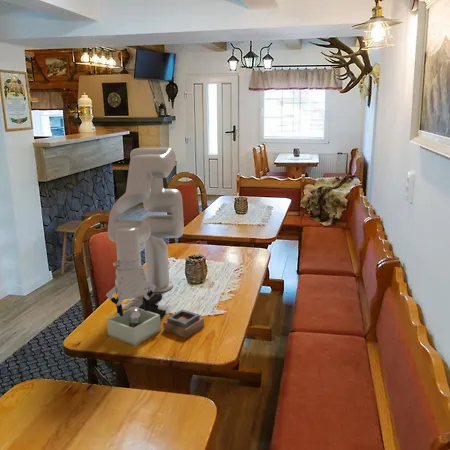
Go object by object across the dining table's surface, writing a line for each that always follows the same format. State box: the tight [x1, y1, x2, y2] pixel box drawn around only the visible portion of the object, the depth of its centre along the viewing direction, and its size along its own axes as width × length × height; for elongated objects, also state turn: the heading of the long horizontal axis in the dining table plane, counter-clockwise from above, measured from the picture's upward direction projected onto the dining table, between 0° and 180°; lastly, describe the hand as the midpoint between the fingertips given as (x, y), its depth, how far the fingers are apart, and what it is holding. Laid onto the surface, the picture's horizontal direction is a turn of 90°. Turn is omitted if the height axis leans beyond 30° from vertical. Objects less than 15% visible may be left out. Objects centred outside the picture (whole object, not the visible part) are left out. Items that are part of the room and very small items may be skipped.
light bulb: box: [129, 306, 141, 328], centre depth 159 cm, size 4×4×8 cm
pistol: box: [137, 292, 167, 321], centre depth 179 cm, size 3×20×11 cm
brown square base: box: [162, 309, 205, 338], centre depth 163 cm, size 10×10×4 cm
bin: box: [106, 306, 162, 347], centre depth 160 cm, size 13×13×6 cm
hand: (133, 311), depth 158 cm, fingers open, 8 cm apart
